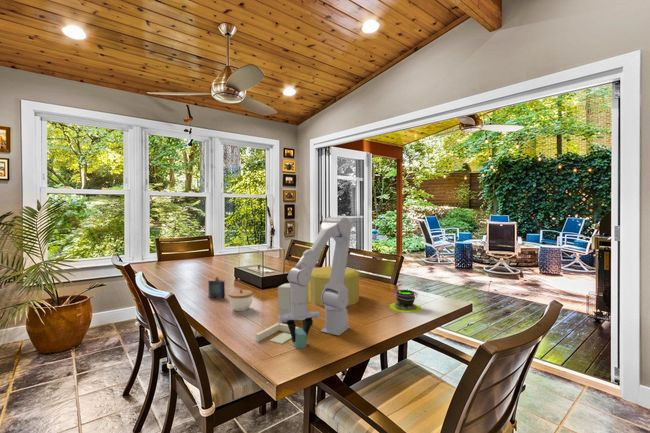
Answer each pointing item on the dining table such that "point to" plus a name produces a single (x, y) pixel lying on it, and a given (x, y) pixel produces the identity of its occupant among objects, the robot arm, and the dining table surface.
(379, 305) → the dining table surface
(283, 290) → the skincare box
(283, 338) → the pad
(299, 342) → the teal brick
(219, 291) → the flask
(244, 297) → the lidded jar
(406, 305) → the toy cauldron
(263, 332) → the corner walls
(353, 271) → the cheese
